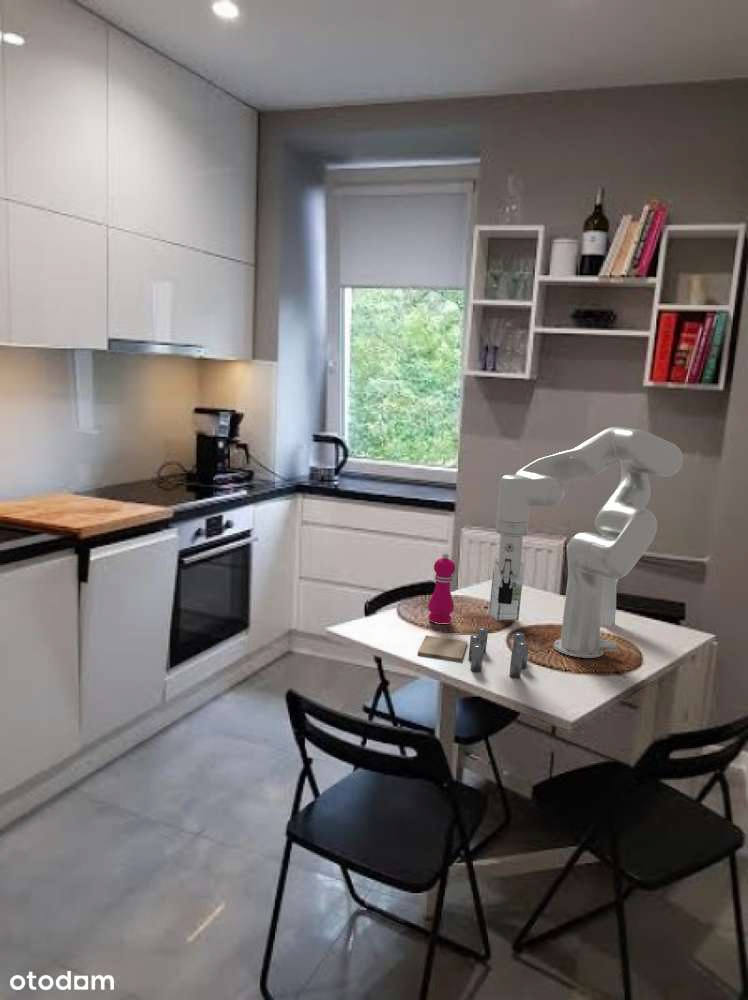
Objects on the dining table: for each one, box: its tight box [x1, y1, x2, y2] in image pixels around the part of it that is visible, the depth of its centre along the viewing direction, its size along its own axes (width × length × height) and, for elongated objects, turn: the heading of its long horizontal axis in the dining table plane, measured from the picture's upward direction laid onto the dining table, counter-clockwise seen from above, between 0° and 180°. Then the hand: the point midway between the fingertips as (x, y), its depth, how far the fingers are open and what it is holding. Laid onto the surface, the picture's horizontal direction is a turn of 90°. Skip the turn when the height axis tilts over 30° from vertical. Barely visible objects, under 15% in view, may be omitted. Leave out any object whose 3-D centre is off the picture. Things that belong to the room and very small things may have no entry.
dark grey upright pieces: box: [468, 626, 530, 679], centre depth 185 cm, size 14×16×6 cm
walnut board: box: [417, 635, 468, 662], centre depth 192 cm, size 11×13×1 cm
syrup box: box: [488, 557, 525, 621], centre depth 183 cm, size 6×6×14 cm
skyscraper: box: [600, 534, 620, 628], centre depth 222 cm, size 8×8×28 cm
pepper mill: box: [427, 552, 456, 623], centre depth 213 cm, size 7×7×20 cm
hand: (505, 598), depth 183 cm, fingers closed on syrup box, 7 cm apart
